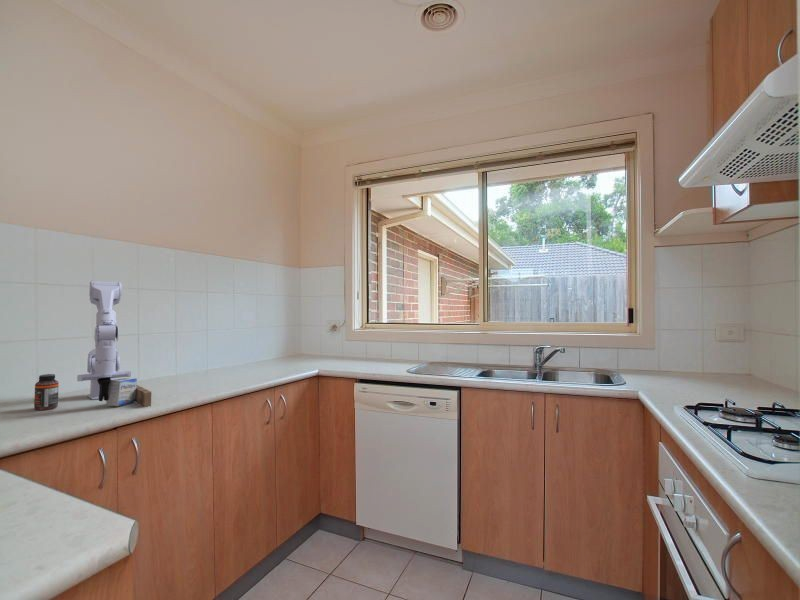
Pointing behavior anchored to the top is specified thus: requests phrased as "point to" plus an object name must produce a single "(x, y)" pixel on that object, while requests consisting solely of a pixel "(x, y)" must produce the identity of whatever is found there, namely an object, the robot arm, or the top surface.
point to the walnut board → (143, 396)
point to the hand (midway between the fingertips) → (104, 400)
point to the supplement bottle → (46, 393)
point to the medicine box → (121, 391)
